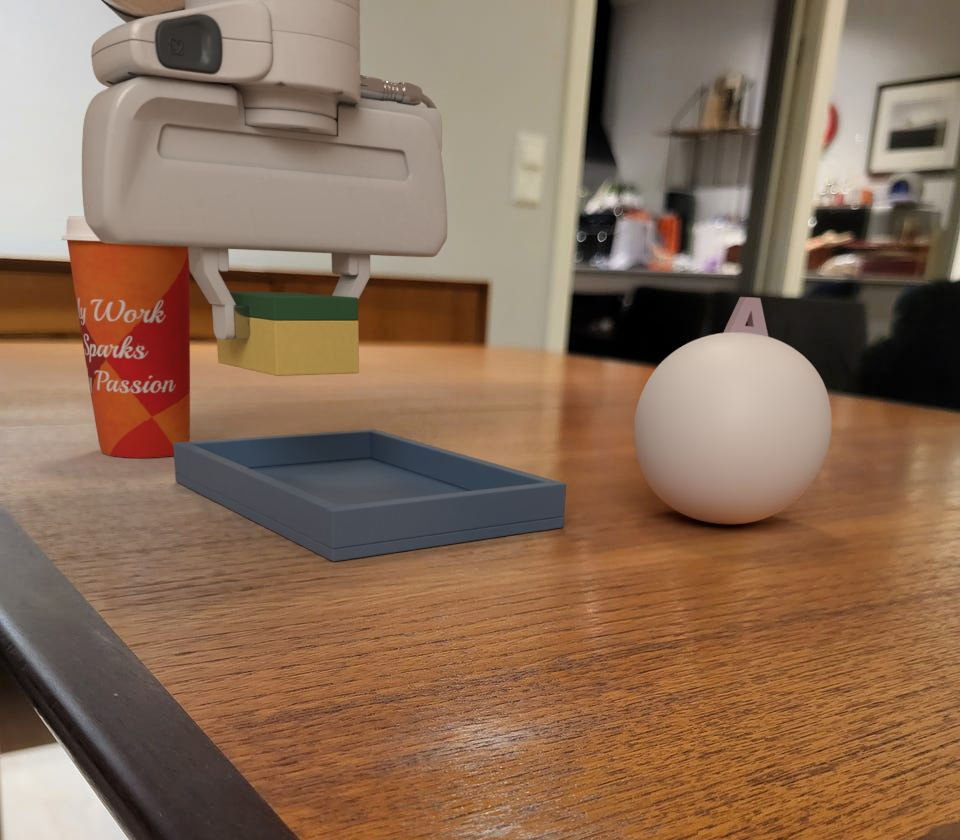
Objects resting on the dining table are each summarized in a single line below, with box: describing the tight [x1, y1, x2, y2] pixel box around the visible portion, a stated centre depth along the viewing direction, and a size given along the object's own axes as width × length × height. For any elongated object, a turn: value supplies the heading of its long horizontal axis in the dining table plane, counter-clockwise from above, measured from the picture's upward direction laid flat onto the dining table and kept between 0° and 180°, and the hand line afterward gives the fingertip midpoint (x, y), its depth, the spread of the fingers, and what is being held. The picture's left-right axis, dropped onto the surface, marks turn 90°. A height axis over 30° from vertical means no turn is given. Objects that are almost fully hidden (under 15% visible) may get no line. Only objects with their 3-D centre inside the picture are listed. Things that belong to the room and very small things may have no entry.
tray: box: [173, 428, 567, 562], centre depth 57 cm, size 20×14×2 cm
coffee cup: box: [61, 215, 191, 459], centre depth 68 cm, size 8×8×15 cm
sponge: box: [216, 290, 360, 377], centre depth 57 cm, size 8×5×4 cm, turn 36°
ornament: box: [633, 296, 833, 525], centre depth 55 cm, size 10×10×12 cm
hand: (284, 338), depth 57 cm, fingers closed on sponge, 5 cm apart
